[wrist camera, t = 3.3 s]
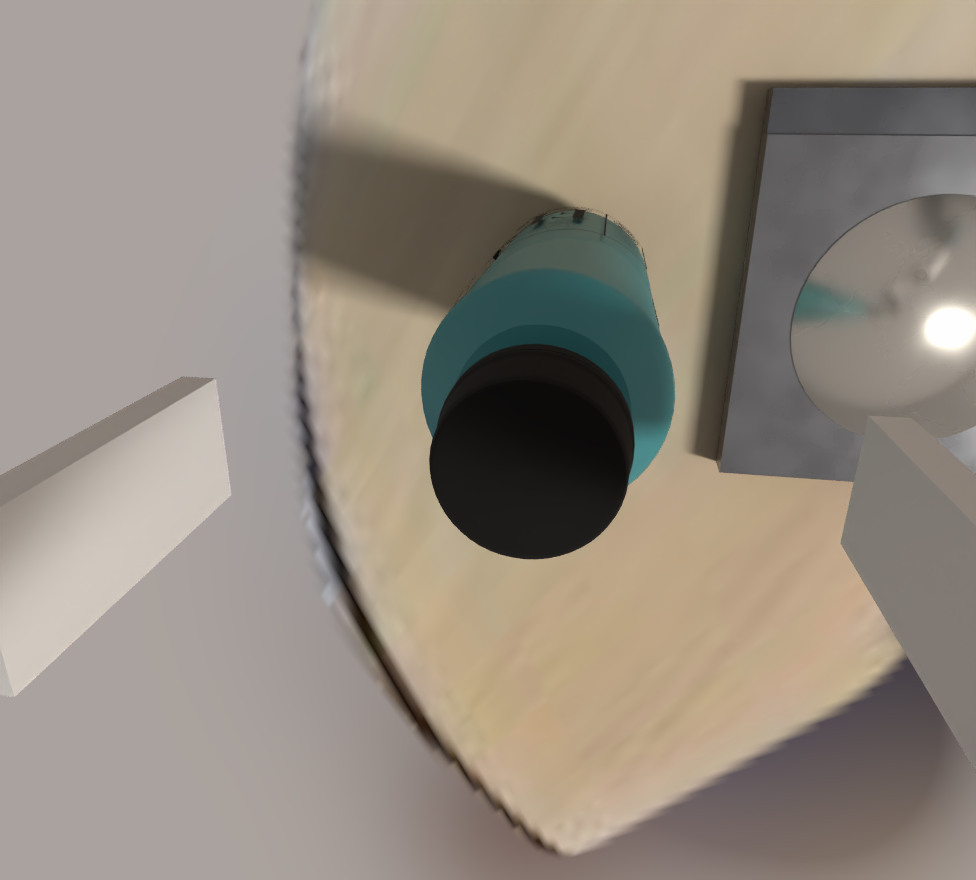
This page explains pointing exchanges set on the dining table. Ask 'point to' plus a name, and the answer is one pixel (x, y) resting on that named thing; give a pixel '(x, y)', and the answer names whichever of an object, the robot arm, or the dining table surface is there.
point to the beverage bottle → (547, 389)
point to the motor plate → (855, 280)
